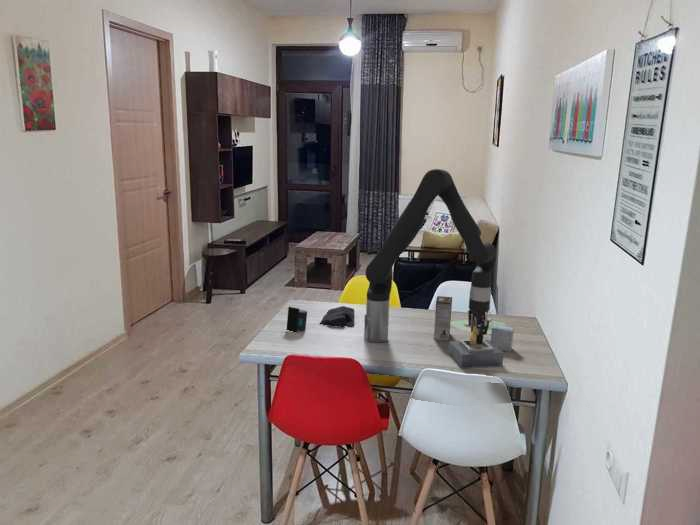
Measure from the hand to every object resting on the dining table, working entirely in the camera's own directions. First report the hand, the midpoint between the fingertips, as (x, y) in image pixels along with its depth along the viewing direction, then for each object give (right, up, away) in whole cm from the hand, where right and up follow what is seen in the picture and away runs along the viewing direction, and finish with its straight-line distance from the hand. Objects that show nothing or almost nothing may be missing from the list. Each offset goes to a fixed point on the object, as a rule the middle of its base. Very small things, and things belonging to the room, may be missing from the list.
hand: (476, 341), depth 208 cm
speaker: (-69, +1, +28) cm, 75 cm away
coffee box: (-9, -2, +25) cm, 27 cm away
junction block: (0, -7, +2) cm, 7 cm away
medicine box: (+13, -5, +13) cm, 19 cm away
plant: (+9, 0, +39) cm, 40 cm away
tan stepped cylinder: (0, -1, 0) cm, 1 cm away
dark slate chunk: (-52, +3, +44) cm, 68 cm away
